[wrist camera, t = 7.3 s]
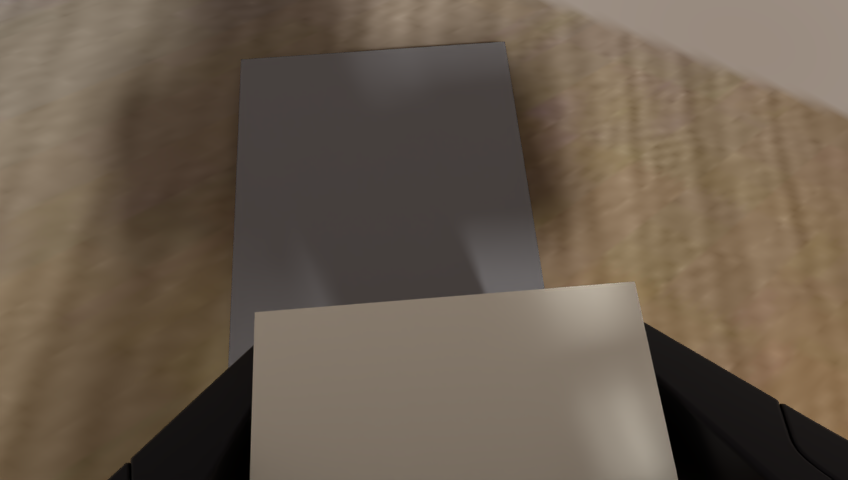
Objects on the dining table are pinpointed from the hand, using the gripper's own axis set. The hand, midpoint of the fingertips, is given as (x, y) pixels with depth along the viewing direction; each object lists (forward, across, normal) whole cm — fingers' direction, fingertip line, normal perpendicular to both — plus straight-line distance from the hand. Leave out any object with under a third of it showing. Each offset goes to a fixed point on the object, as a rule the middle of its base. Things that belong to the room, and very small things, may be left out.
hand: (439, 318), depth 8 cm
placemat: (+8, +2, +4) cm, 8 cm away
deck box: (+4, 0, +6) cm, 7 cm away
